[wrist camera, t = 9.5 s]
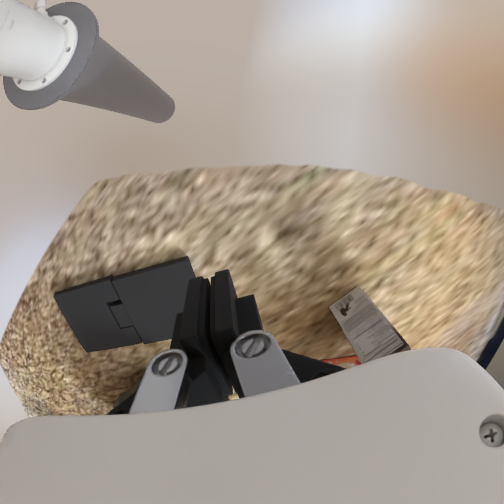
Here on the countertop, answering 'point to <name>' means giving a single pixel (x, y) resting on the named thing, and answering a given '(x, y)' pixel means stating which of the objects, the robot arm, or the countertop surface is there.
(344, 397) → the robot arm
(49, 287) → the countertop surface
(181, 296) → the pad
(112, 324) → the base pad
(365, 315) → the coffee box
